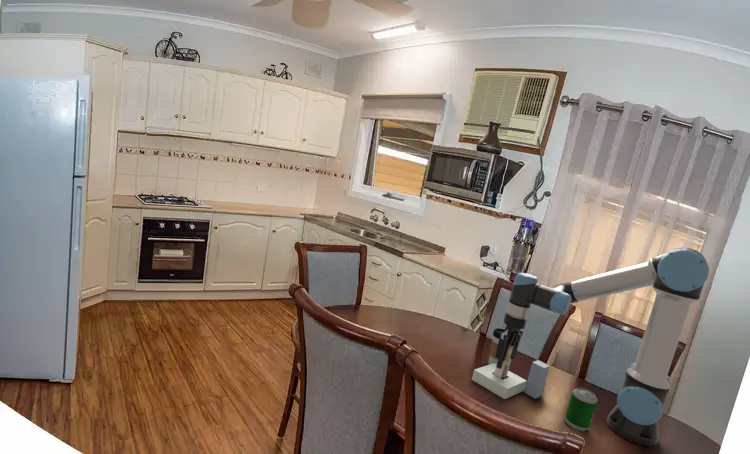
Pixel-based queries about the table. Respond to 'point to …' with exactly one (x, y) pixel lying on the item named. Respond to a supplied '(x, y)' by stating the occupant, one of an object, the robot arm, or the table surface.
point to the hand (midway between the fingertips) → (500, 374)
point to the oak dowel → (506, 362)
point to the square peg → (536, 379)
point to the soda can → (581, 409)
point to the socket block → (499, 381)
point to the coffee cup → (495, 345)
